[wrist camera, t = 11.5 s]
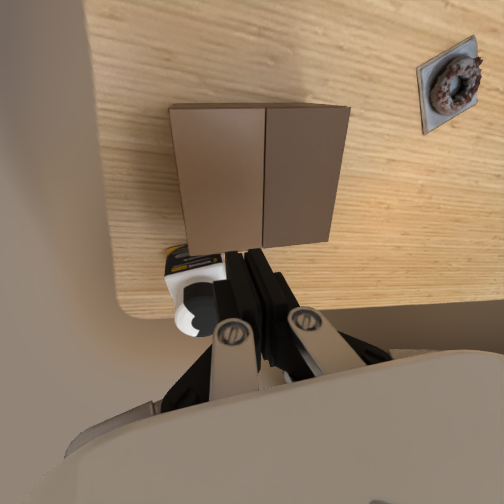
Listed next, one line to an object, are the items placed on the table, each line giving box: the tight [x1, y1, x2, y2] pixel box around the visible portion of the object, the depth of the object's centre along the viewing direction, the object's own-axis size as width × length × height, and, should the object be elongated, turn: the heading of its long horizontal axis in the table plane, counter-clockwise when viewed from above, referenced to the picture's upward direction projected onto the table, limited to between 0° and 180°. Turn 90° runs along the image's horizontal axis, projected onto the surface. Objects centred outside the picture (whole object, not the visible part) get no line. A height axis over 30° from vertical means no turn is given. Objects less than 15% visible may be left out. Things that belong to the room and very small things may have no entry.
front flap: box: [169, 108, 265, 256], centre depth 24 cm, size 7×13×1 cm, turn 0°
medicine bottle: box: [164, 244, 226, 337], centre depth 34 cm, size 7×7×12 cm
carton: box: [168, 103, 351, 250], centre depth 28 cm, size 15×13×10 cm
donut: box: [417, 35, 483, 135], centre depth 32 cm, size 8×8×2 cm
